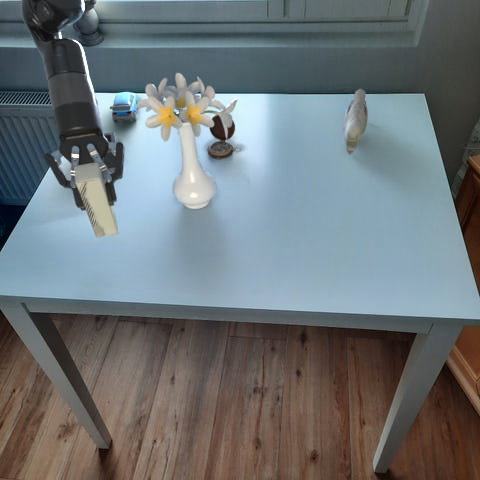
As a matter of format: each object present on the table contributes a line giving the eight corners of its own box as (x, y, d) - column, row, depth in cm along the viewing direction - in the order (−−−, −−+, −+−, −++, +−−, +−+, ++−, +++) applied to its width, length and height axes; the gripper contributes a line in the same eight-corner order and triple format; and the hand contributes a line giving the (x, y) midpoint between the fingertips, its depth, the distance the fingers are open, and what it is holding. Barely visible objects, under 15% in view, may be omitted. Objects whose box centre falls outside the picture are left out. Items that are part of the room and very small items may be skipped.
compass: (205, 159, 110) (201, 130, 104) (211, 140, 115) (209, 111, 109) (239, 161, 109) (237, 132, 103) (244, 142, 114) (242, 113, 108)
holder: (84, 173, 109) (79, 157, 106) (83, 152, 114) (78, 137, 111) (121, 166, 110) (116, 151, 107) (118, 146, 115) (114, 131, 112)
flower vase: (242, 216, 97) (237, 99, 78) (154, 221, 98) (126, 105, 78) (241, 178, 105) (235, 62, 85) (159, 182, 106) (135, 68, 86)
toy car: (140, 102, 127) (136, 81, 123) (136, 126, 120) (131, 105, 116) (119, 103, 127) (113, 82, 123) (113, 128, 120) (107, 106, 116)
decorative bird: (337, 154, 109) (342, 124, 103) (345, 117, 118) (349, 87, 113) (361, 156, 108) (367, 126, 102) (367, 119, 118) (372, 89, 112)
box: (94, 221, 91) (73, 164, 81) (117, 217, 92) (98, 159, 81) (96, 239, 88) (74, 182, 78) (119, 235, 89) (100, 177, 78)
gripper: (26, 107, 77) (51, 212, 79) (114, 94, 78) (136, 198, 81) (39, 120, 84) (62, 216, 86) (119, 108, 85) (139, 203, 88)
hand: (98, 207), depth 84 cm, fingers closed on box, 4 cm apart
